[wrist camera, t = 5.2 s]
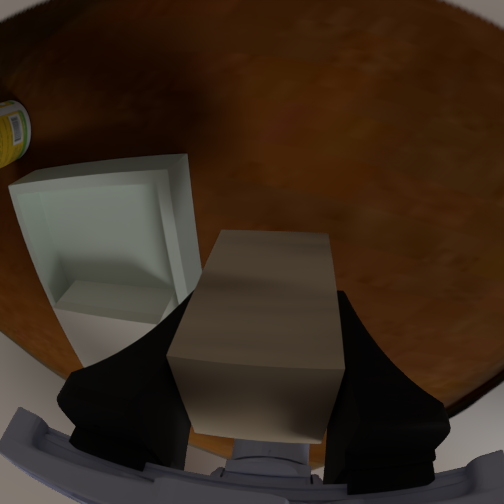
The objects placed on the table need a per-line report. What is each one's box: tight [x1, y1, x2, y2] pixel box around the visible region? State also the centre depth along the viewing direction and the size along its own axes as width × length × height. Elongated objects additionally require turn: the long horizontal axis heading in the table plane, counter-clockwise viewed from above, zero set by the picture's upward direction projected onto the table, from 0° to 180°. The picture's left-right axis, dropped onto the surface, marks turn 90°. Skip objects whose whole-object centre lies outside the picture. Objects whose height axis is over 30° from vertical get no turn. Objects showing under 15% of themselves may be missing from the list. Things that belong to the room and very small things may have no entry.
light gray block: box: [53, 280, 179, 368], centre depth 25 cm, size 8×10×4 cm
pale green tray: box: [8, 154, 202, 365], centre depth 24 cm, size 20×14×4 cm
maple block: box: [166, 230, 345, 444], centre depth 12 cm, size 4×4×7 cm
